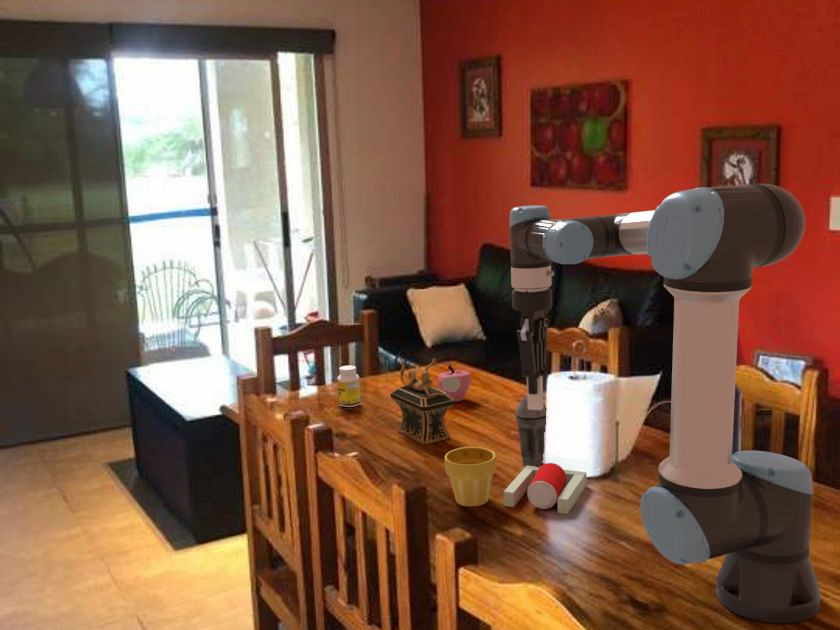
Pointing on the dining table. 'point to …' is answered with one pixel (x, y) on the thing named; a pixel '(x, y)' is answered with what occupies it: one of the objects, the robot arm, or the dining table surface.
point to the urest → (566, 498)
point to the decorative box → (422, 407)
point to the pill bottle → (348, 387)
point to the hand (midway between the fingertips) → (535, 408)
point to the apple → (454, 383)
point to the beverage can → (546, 486)
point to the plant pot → (471, 474)
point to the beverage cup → (531, 433)
